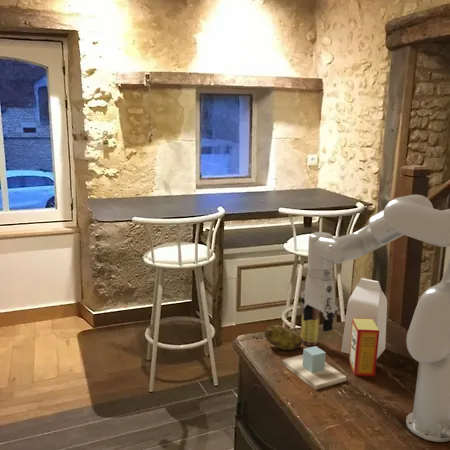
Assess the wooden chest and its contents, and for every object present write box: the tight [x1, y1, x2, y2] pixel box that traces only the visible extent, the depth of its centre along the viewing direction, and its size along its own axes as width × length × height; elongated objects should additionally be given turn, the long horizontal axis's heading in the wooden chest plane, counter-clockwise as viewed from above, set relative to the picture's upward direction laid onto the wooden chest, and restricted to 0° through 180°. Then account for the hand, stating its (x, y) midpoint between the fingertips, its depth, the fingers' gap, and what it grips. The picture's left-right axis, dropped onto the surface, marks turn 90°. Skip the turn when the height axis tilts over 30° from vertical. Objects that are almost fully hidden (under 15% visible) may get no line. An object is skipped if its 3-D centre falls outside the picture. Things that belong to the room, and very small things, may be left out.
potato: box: [264, 324, 303, 351], centre depth 182 cm, size 8×13×8 cm, turn 71°
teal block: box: [302, 345, 327, 373], centre depth 165 cm, size 5×5×6 cm
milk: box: [340, 277, 388, 359], centre depth 179 cm, size 12×12×26 cm
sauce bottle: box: [300, 307, 320, 347], centre depth 185 cm, size 6×6×20 cm
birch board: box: [281, 354, 347, 391], centre depth 166 cm, size 18×12×2 cm, turn 28°
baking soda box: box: [348, 318, 379, 377], centre depth 167 cm, size 10×6×16 cm
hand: (317, 325), depth 162 cm, fingers open, 9 cm apart
